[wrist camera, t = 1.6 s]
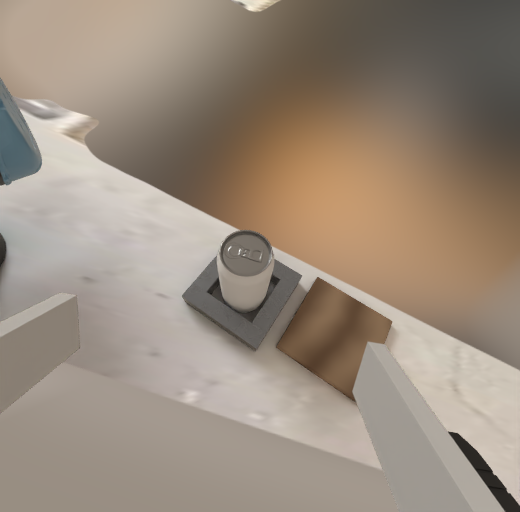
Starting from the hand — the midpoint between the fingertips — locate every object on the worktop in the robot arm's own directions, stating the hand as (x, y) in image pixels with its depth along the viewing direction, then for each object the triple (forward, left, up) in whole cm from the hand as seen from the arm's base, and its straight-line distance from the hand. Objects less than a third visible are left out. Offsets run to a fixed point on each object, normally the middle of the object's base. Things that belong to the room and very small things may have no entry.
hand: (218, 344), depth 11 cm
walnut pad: (+9, +12, -23) cm, 27 cm away
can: (-5, +10, -23) cm, 25 cm away
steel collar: (-5, +10, -23) cm, 25 cm away
